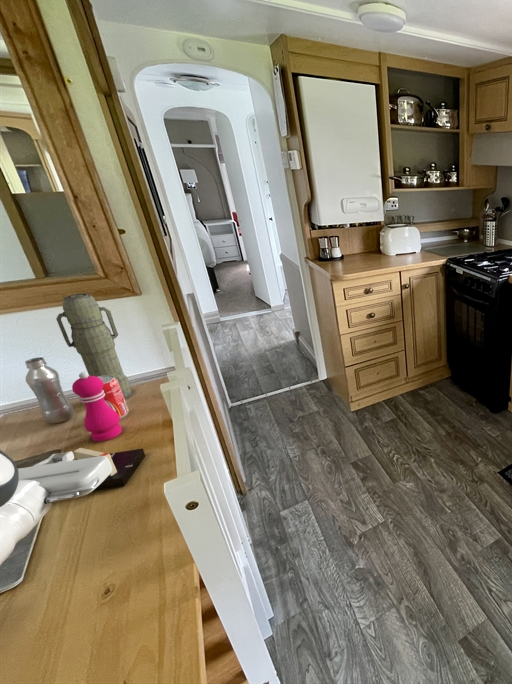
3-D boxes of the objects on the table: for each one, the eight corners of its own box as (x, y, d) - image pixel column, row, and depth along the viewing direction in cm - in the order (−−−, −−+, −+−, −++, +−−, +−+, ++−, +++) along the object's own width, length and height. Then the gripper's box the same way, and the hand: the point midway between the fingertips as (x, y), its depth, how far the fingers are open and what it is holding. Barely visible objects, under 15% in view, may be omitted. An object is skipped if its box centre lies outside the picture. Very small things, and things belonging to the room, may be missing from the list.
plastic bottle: (40, 428, 109) (10, 367, 101) (53, 416, 114) (25, 357, 107) (70, 423, 111) (43, 363, 104) (80, 411, 117) (55, 353, 109)
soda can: (125, 408, 119) (112, 371, 114) (133, 416, 115) (119, 378, 111) (95, 418, 114) (80, 380, 109) (102, 427, 110) (86, 388, 105)
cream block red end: (81, 469, 91) (72, 450, 88) (88, 465, 92) (79, 446, 90) (111, 476, 89) (103, 456, 87) (117, 472, 90) (109, 453, 88)
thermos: (141, 393, 128) (107, 294, 114) (95, 408, 118) (52, 303, 105) (132, 385, 132) (98, 289, 119) (87, 399, 123) (45, 297, 110)
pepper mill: (89, 434, 107) (62, 372, 99) (122, 424, 112) (99, 363, 104) (91, 446, 102) (64, 382, 95) (126, 434, 107) (102, 372, 100)
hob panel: (42, 507, 83) (37, 498, 82) (79, 466, 95) (75, 457, 94) (122, 493, 87) (118, 484, 86) (148, 455, 99) (145, 447, 98)
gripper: (81, 480, 65) (122, 433, 77) (-80, 507, 59) (-9, 451, 72) (94, 508, 68) (131, 457, 80) (-60, 536, 62) (6, 477, 74)
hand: (64, 455), depth 76 cm, fingers closed
